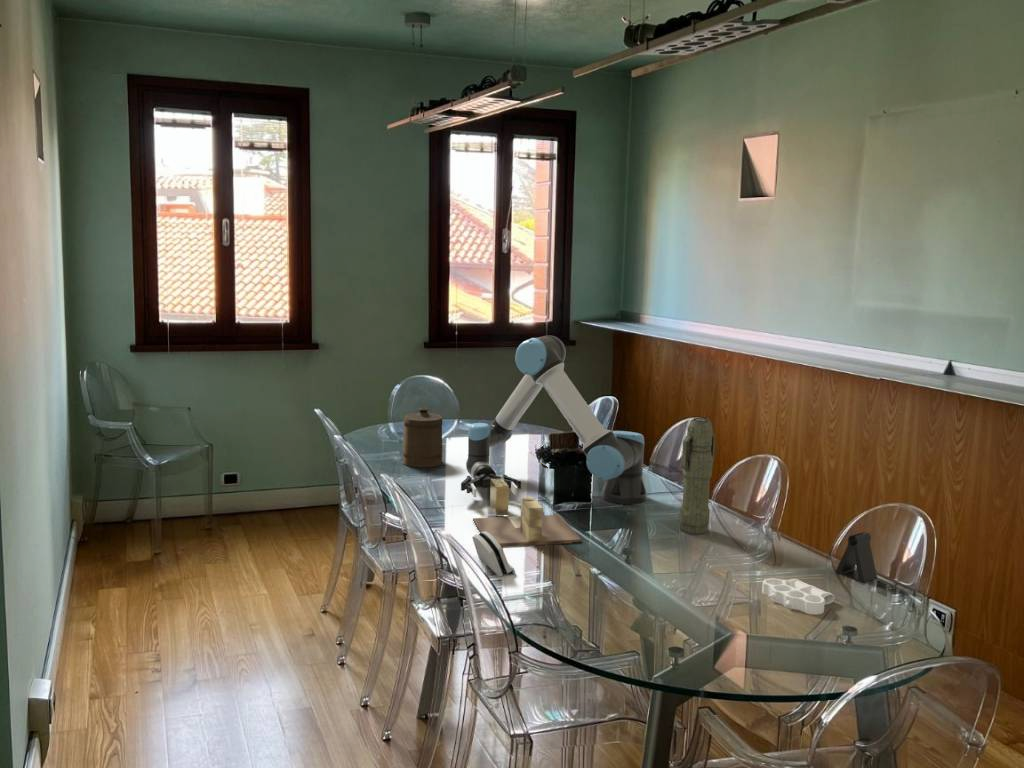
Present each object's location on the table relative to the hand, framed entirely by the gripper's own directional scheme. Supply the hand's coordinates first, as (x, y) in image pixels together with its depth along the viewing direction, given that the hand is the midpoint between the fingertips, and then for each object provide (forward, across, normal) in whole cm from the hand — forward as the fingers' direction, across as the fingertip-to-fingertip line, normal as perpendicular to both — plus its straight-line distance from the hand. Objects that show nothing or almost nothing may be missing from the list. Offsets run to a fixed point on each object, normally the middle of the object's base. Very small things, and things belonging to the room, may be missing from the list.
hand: (495, 492), depth 313 cm
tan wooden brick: (+3, -1, -6) cm, 7 cm away
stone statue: (+28, -57, -6) cm, 64 cm away
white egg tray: (+84, -61, -7) cm, 104 cm away
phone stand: (+71, -86, -6) cm, 112 cm away
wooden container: (-62, +16, -6) cm, 65 cm away
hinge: (+49, +11, -6) cm, 51 cm away
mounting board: (+23, -5, -6) cm, 24 cm away
